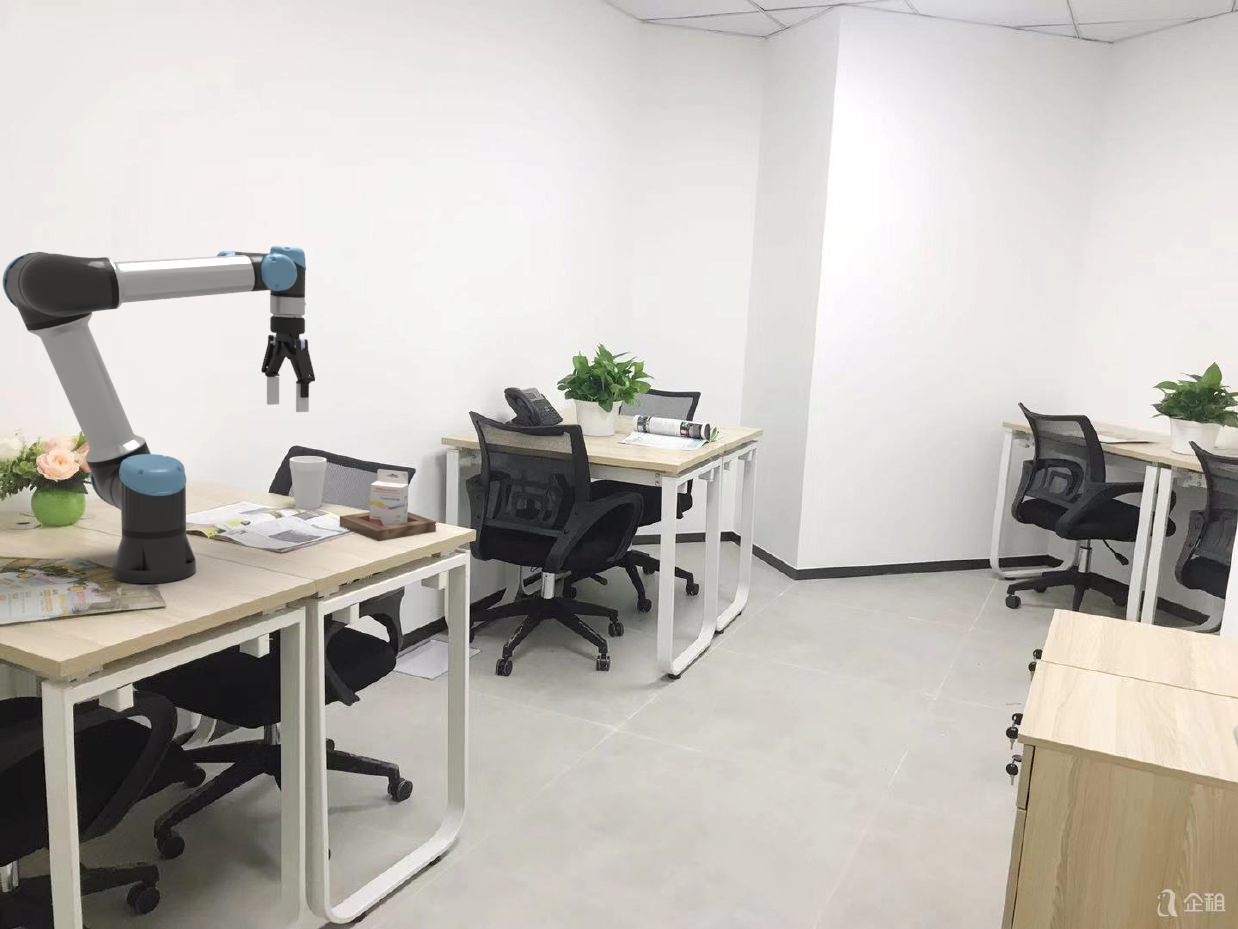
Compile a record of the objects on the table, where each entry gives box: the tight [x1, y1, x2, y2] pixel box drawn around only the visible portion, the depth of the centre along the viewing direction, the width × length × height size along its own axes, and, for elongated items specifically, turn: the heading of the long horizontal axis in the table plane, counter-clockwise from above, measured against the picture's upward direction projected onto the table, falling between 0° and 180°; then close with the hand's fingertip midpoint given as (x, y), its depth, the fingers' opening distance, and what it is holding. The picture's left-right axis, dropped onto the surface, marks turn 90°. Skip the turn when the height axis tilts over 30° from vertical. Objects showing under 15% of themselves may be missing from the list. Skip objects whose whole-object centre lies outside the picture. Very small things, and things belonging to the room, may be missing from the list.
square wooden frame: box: [339, 511, 437, 542], centre depth 236 cm, size 17×17×2 cm
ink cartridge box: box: [369, 468, 410, 526], centre depth 235 cm, size 9×5×15 cm, turn 85°
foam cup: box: [289, 455, 328, 510], centre depth 252 cm, size 10×9×13 cm
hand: (287, 408), depth 218 cm, fingers open, 13 cm apart
